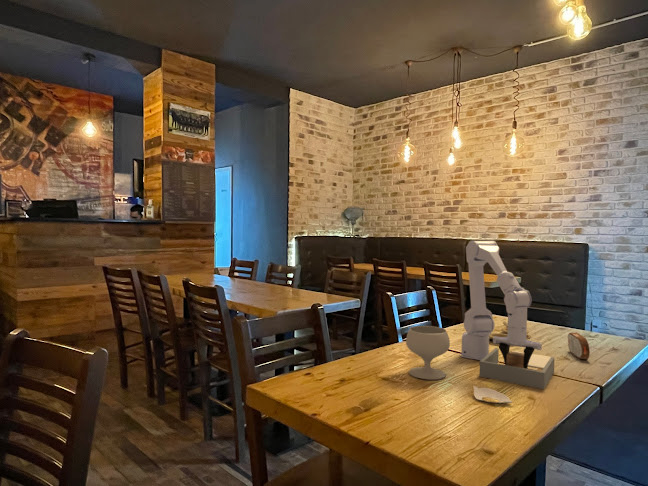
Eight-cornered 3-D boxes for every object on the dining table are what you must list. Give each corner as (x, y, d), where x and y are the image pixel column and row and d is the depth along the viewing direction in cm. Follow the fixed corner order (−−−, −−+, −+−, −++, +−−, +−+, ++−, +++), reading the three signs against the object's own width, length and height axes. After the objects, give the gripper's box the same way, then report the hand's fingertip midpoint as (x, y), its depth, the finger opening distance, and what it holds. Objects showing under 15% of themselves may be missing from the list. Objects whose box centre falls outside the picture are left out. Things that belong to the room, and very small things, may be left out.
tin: (590, 362, 155) (590, 339, 155) (580, 361, 156) (581, 339, 156) (574, 351, 170) (575, 330, 170) (566, 350, 171) (566, 329, 170)
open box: (479, 376, 139) (479, 361, 139) (495, 361, 155) (495, 348, 155) (544, 389, 128) (544, 372, 128) (554, 371, 144) (554, 357, 144)
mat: (503, 361, 155) (503, 360, 155) (513, 352, 168) (513, 351, 168) (546, 369, 147) (546, 368, 147) (553, 358, 160) (553, 357, 160)
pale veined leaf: (478, 389, 127) (479, 381, 127) (518, 404, 118) (519, 395, 118) (464, 397, 122) (465, 389, 121) (505, 414, 113) (506, 405, 112)
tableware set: (519, 351, 171) (519, 337, 171) (471, 342, 184) (472, 329, 184) (541, 338, 193) (542, 325, 193) (498, 331, 206) (498, 319, 206)
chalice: (402, 378, 137) (403, 332, 136) (409, 365, 150) (409, 323, 149) (447, 384, 132) (448, 336, 131) (450, 370, 145) (451, 326, 144)
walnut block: (506, 372, 139) (506, 354, 139) (509, 368, 143) (510, 351, 143) (522, 375, 136) (523, 357, 136) (525, 371, 141) (526, 353, 140)
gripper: (490, 326, 141) (490, 366, 141) (539, 332, 132) (538, 375, 132) (496, 322, 146) (495, 361, 147) (543, 328, 138) (542, 369, 138)
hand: (516, 367), depth 140 cm, fingers closed on walnut block, 5 cm apart
